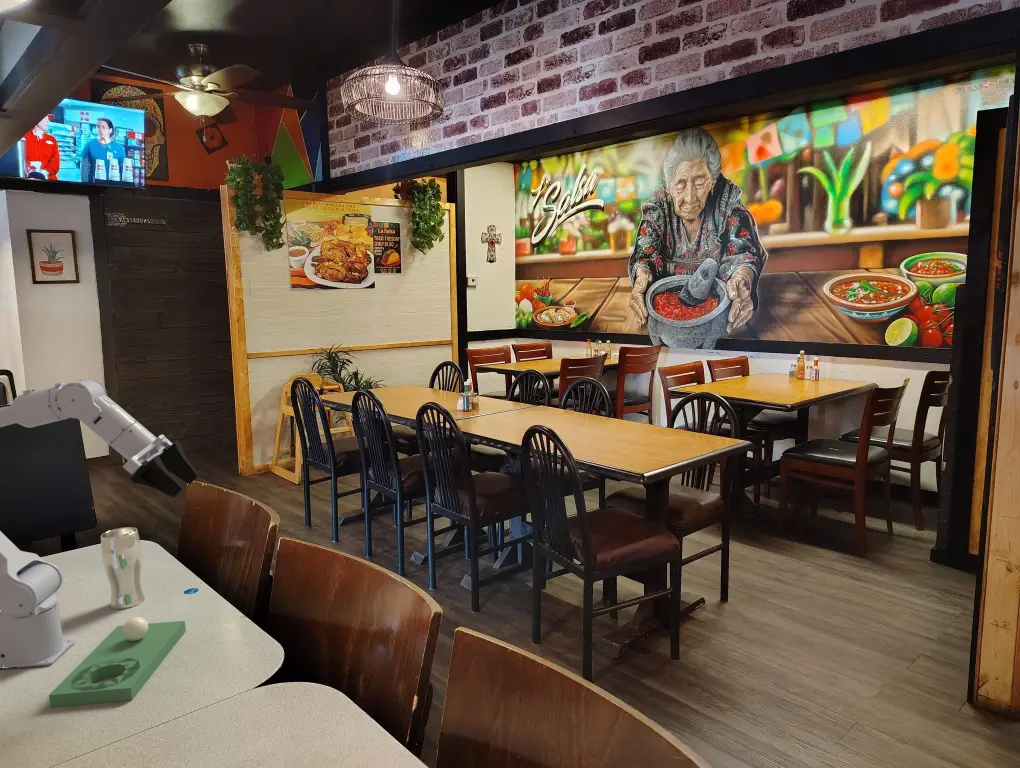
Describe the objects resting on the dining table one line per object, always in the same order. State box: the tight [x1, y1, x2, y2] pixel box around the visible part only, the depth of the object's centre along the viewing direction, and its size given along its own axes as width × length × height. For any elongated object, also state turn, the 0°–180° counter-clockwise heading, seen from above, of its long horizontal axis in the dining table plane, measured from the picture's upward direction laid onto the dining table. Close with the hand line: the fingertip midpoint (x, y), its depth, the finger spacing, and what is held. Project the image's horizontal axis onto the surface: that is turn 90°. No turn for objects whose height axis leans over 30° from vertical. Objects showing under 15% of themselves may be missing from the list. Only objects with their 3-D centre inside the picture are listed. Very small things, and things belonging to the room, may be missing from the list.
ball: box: [122, 616, 149, 641], centre depth 121 cm, size 4×4×4 cm
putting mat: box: [48, 620, 187, 708], centre depth 116 cm, size 12×22×2 cm, turn 5°
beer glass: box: [100, 526, 145, 610], centre depth 140 cm, size 7×7×15 cm
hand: (186, 486), depth 120 cm, fingers open, 7 cm apart
